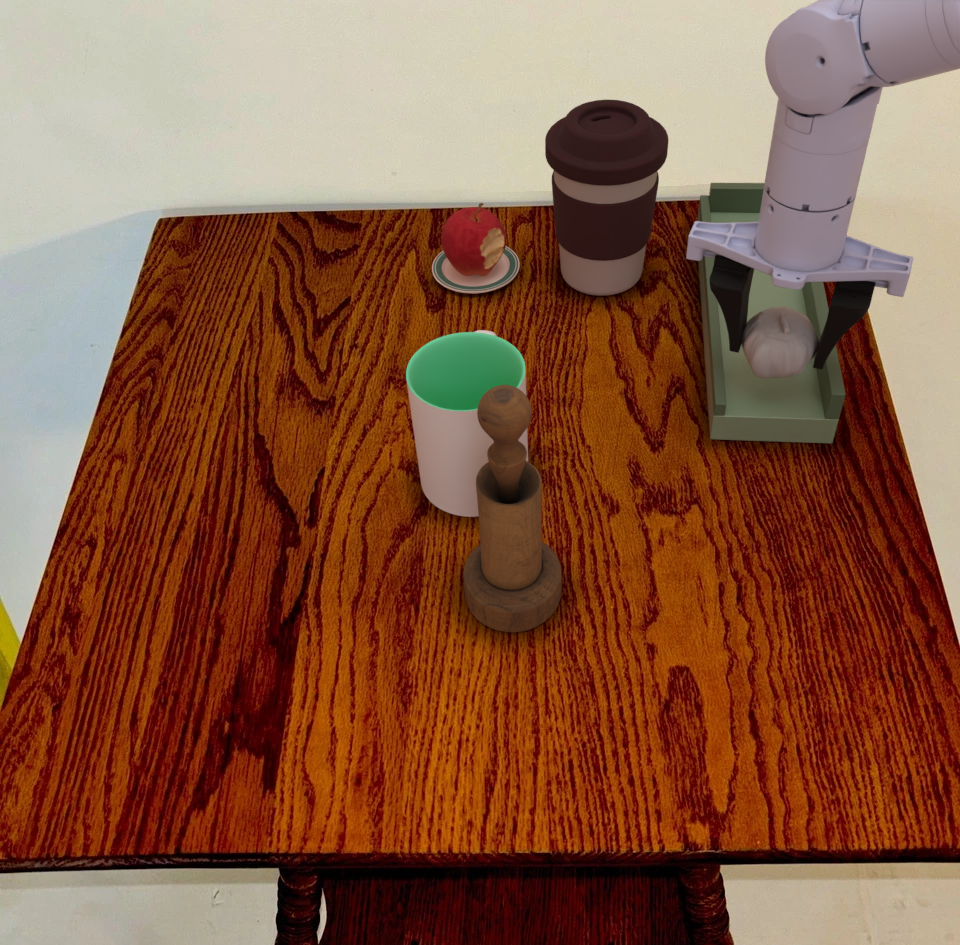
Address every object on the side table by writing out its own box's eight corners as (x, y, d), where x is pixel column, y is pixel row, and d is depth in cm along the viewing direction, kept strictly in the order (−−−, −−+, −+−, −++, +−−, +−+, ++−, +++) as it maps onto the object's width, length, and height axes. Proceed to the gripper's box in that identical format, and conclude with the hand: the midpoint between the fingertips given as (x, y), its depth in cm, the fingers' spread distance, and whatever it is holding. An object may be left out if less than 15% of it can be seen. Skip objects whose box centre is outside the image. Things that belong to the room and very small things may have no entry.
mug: (436, 401, 83) (424, 296, 75) (536, 404, 82) (534, 298, 74) (412, 513, 75) (396, 408, 67) (523, 519, 74) (520, 413, 66)
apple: (524, 247, 97) (522, 185, 92) (514, 299, 92) (511, 236, 87) (440, 243, 98) (434, 182, 93) (425, 295, 93) (418, 233, 88)
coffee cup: (644, 315, 89) (656, 157, 78) (533, 298, 91) (530, 142, 81) (666, 250, 95) (680, 95, 84) (562, 235, 98) (562, 83, 87)
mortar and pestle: (555, 638, 67) (555, 441, 54) (457, 628, 68) (433, 432, 55) (566, 558, 71) (568, 358, 58) (473, 549, 72) (455, 351, 59)
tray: (832, 444, 77) (846, 394, 74) (710, 439, 78) (717, 390, 75) (794, 230, 96) (803, 183, 93) (696, 229, 97) (701, 182, 94)
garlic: (797, 402, 74) (810, 346, 70) (725, 380, 76) (734, 324, 72) (822, 353, 78) (836, 297, 74) (753, 333, 80) (762, 278, 76)
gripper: (682, 202, 66) (666, 365, 76) (923, 241, 62) (872, 408, 71) (708, 147, 70) (690, 308, 80) (934, 180, 66) (885, 345, 76)
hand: (777, 351), depth 76 cm, fingers closed on garlic, 5 cm apart
